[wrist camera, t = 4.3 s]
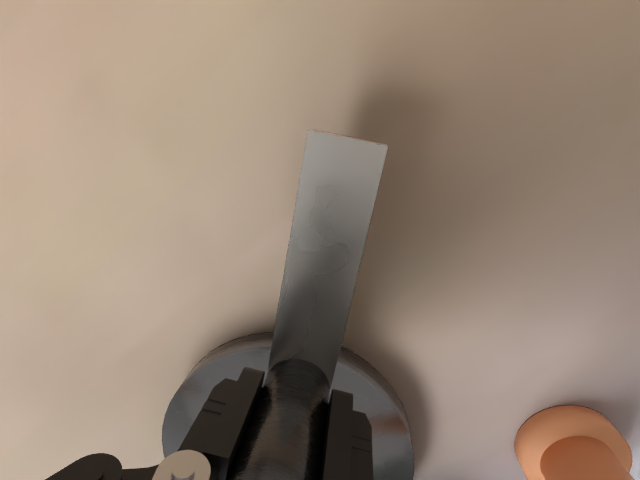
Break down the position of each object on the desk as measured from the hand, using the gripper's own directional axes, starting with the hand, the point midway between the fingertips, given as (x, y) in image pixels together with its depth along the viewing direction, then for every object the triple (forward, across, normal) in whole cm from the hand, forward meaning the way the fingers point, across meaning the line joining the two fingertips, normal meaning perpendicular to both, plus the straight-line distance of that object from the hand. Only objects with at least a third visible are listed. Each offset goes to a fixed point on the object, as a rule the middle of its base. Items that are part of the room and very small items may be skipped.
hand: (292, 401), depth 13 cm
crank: (+2, 0, +1) cm, 3 cm away
